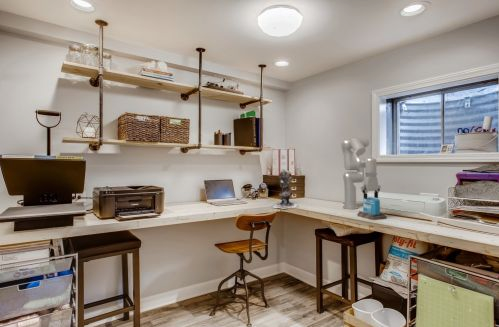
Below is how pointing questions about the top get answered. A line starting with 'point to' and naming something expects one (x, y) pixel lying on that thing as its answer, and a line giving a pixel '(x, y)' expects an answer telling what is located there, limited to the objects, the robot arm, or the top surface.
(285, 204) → the dark grey statue
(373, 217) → the display riser
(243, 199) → the top surface
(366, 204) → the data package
